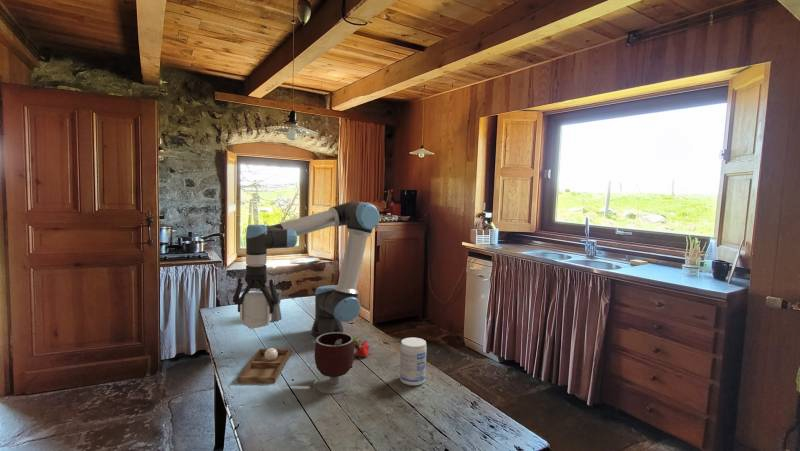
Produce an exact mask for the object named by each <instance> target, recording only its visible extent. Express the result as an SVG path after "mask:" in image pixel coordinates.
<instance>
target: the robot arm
mask: <svg viewBox="0 0 800 451" xmlns="http://www.w3.org/2000/svg"><path fill="white" fill-rule="evenodd" d="M380 217H381V216H380V211H379V210H378V208H377V206H375V205H374V204H373V203H369V202H365V201H363V202H362V201H347V202H344V203H341V204H337V205H335V206H331V207H329V208H328V210H325V211H321V212H317V213H314V214H310V215H305V216H302V217H299V218H295V219H291V220H287V221H285V222H284V221H283V222H281V223H278V224H272V225H266V224H249V225H247V226H246V231H245V244H246V245H245V246H246V247H245V248H246V250H245V264H246V266H245V276H244V277H243V276H240V277H238V278H237V279H236V281H237V285H236V287H235V288H236V289H235V292H234V295H233V299H232V302H233V303H235V304H237V312H238V313H239V321H240V322H243V299H244V297H245V294H247V293H249V292H251V291H250V290H253V289H256V290H259V289H260V290H259V291H262V292H263V294H264V296H265V298H266V300H267V301H268V303H269V305H268V306H267V322H268V323H271V322H270V321H271V313H273V312H274V304H277V303H278V302H279V299H278V296H277V292H276V289H277V288H276V285H275V281H276V280H275V278H274V277H273V278H268V277H267V265H266V264H267V256H268V255H267V252H268V251H267V250H269V249H270V250H271V249H288V248H294V247H296V245H297V243H298V237H299V236H303V235H306V234H309V233H314V232H316V231H320V230H323V229H326V228H329V227H334V228H337V227H343V226H346V231H347V232H348V235H347V241H346V245H345V249H344V254H343V259H342V262H341V267H340V272H339V277H338V281H337V284H329V285H328V284H327V285H321V286H317V287H316V288H315V294H314V296H315V300H314V301H315V304H314V305H315V310H314V314H315V316H314V321H313V323H312V327H311V333H310V334H311V336H312V337H314V338H317V337H319V336H320V335H323V334H326V333H333V332H339V333H344V326H343V323H349V322H351V321H354V319H355V318H357V317H358V315H359V313H360V311H361V303H360V300H359V290H358V289H357V288H358V282H359V278H360V273H361V268H362V263H363V259H364V254H365V249H366V246H367V241H368V238H369V237H370V236H371V235H372V233H373V229H375V228H376V227H378V225H379V223H380ZM244 283H246V284H247V285H246V286H245V288H244V291H243V292H242V290H243V284H244ZM266 283H267V284H268V285H269V287H267V285H266ZM267 288H270V291H271V294H272V297H271V295H270V293H269V292H268V290H267ZM241 292H242V293H241ZM272 298H273V299H272Z"/></svg>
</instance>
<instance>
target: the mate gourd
mask: <svg viewBox="0 0 800 451" xmlns="http://www.w3.org/2000/svg"><path fill="white" fill-rule="evenodd" d="M351 335H352V334H348V333H346V332H345V333H344V332H343V333H339V332H333V333H326V334H323V335H320V336H319V337H316V339H315V344H314V345H315V346H314V362H315V367H316V369H317V370H318V371H319V372H320V374H321V375H323V376H324V377H322V378H321V379H319V380H318V381H317V382H316V388H317V390H318V392H320V393H323V394H328V395H337V394H342V393H345V392H347V391H349V390H350V389H351V387H352V380H351V379H350V378H348V377H346V376H344V375H346V374H347V373H349V371H350V370H351V368H352V367H353V364H354V360H355V356H354V354H355V348H354V342H353V337H352V336H351Z"/></svg>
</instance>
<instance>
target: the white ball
mask: <svg viewBox="0 0 800 451" xmlns="http://www.w3.org/2000/svg"><path fill="white" fill-rule="evenodd" d="M266 349H267V350H266V351H265V358H266V360H268V361H273V360H275V359H276V358H277V355H278V352H277V350H276V349H277V348H274V347H270V348H266Z"/></svg>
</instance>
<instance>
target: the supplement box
mask: <svg viewBox="0 0 800 451" xmlns="http://www.w3.org/2000/svg"><path fill="white" fill-rule="evenodd" d="M242 303H243V321H242V325H244V326H245V327H247V328H248V329H251V330H253V329H257V328H262V327H266V326H269V322H267V306H268V305H269V303H268V301H267V300H266V298H265V296H264V294H263V292H262V291H261V290H256V291H249V292H248V293H247V294H245V297H244V299H243V302H242Z"/></svg>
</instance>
